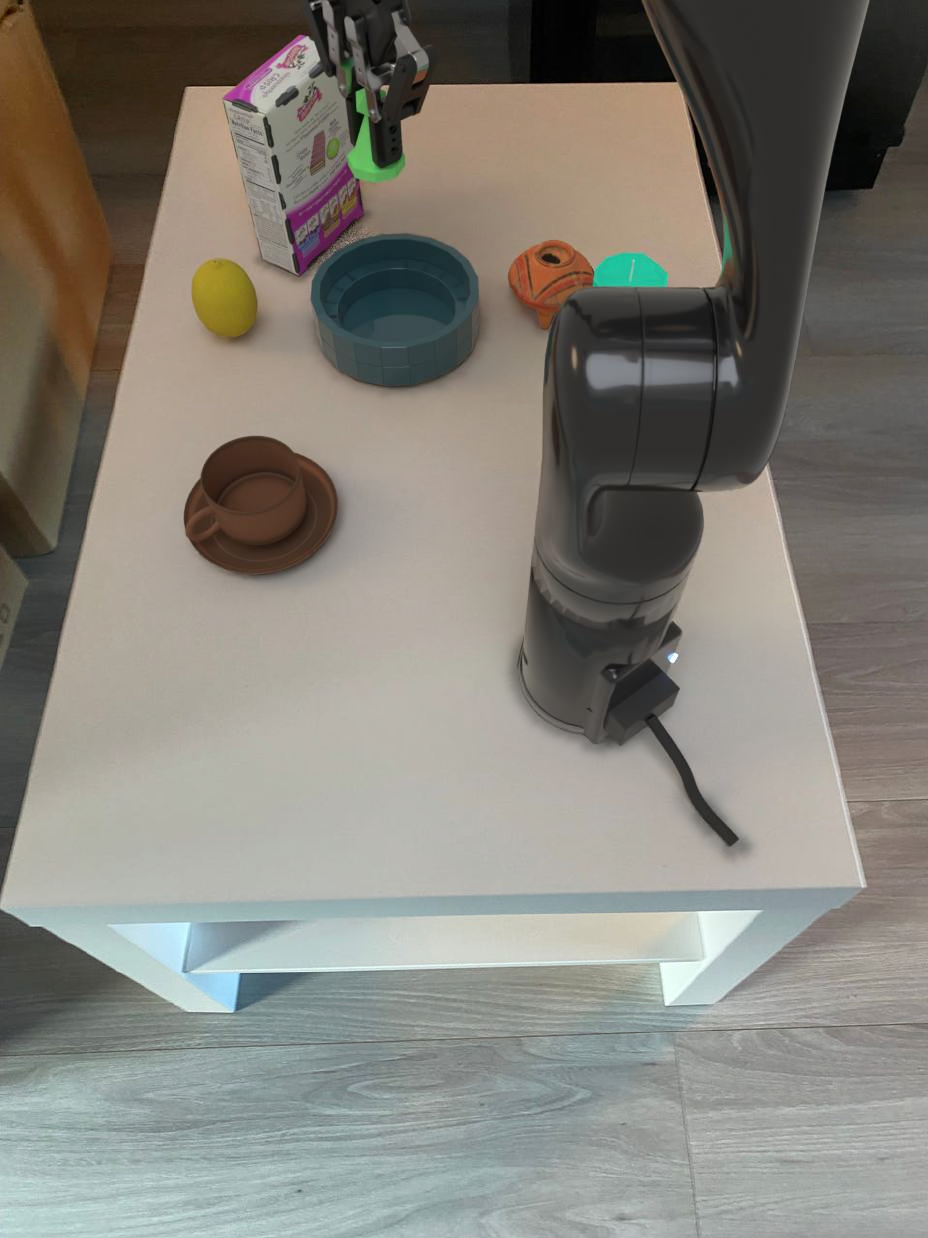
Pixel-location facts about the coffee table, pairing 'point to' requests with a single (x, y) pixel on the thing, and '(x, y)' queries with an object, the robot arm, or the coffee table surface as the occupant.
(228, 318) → the lemon
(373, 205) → the coffee table surface
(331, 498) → the cup and saucer
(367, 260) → the bowl
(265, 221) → the candy bar box
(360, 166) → the game piece
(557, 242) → the pot
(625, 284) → the candle
